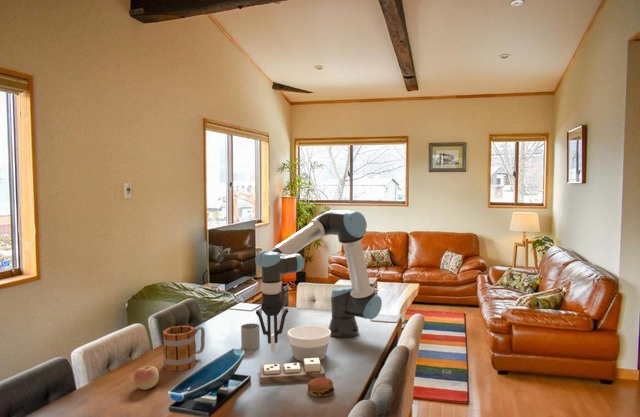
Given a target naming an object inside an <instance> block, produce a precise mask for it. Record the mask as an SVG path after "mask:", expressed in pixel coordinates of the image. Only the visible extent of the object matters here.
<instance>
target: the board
mask: <svg viewBox="0 0 640 417" xmlns="http://www.w3.org/2000/svg"><path fill="white" fill-rule="evenodd" d="M298 363H299V365H300V372H294V373H284V364H285V363H281V364H280V363H278V364H279V368H280V373H278V374H264V365H265V364H262V365H259V366H260V368H259V369H260V371H259V372H260V375H259V376H260V379H259V381H260V384H261V385H262V384H275V383H277V384H278V383H291V382H293V383H294V382H306V381H308V382H309V381H311V380H312V379H315V378H326V372H325V367H324V366H323V363H322V361H320V369H321V371H310V372H305V369H304V362H298Z"/></svg>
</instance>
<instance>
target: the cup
mask: <svg viewBox="0 0 640 417" xmlns="http://www.w3.org/2000/svg"><path fill="white" fill-rule="evenodd" d="M240 334H241V337H240V340H241V350H243V351H256V350H258V349H260V348H261V346H260V345H261V344H260V343H261V342H260V341H261V339H260V324H257V323H245V324H242V325H241V326H240Z"/></svg>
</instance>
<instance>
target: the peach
mask: <svg viewBox="0 0 640 417" xmlns="http://www.w3.org/2000/svg"><path fill="white" fill-rule="evenodd" d="M159 377H160V374H159V370H158V368H157V367H155V366H151V365H145V366H141V367H139V368H138V369H137V370H136V371H135V373H134V377H133V378H134V383H135V385H136V387H138V388H139V389H140V390H142V391H146V390H149V389H152V388H153V387H155V386H156V385H157V383H158V382H159Z"/></svg>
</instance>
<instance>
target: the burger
mask: <svg viewBox="0 0 640 417" xmlns="http://www.w3.org/2000/svg"><path fill="white" fill-rule="evenodd" d="M334 392H335V387H334V383H333V380H332V379H331V378H328V377H325V378H315V379H312V380H309V381H308V383H307V393H308V395H309V396H311V397H322V398H323V397H327V396H330V395H332V394H333V393H334Z"/></svg>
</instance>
